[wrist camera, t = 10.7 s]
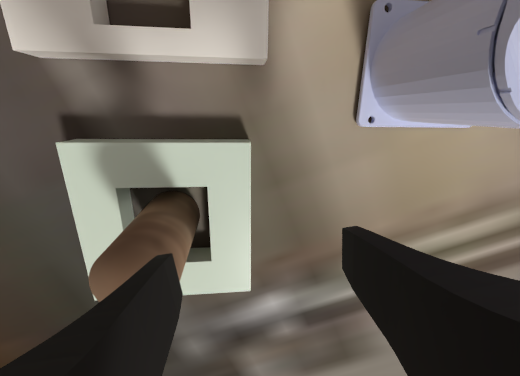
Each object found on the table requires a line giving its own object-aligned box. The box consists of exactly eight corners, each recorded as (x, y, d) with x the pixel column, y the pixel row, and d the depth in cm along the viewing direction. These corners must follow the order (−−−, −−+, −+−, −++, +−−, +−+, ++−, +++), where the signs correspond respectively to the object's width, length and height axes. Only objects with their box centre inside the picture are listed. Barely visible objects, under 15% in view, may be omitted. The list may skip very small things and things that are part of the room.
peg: (197, 189, 19) (172, 243, 11) (201, 235, 20) (182, 312, 12) (143, 191, 18) (79, 249, 11) (151, 238, 19) (99, 320, 12)
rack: (249, 139, 18) (250, 142, 16) (249, 275, 21) (250, 290, 20) (76, 138, 17) (55, 142, 15) (107, 282, 20) (94, 300, 18)
